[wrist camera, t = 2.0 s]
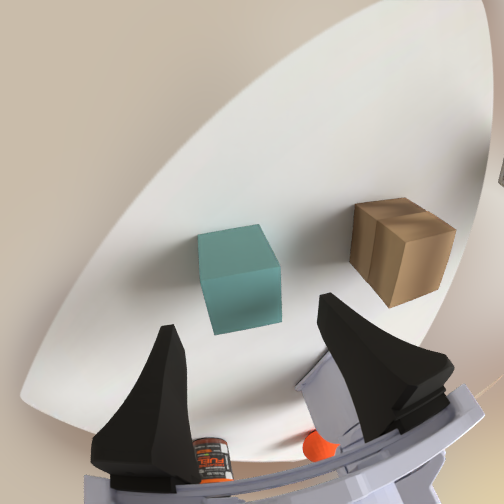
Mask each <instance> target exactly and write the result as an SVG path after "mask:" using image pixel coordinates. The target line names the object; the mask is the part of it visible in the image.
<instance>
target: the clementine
mask: <svg viewBox="0 0 504 504" xmlns="http://www.w3.org/2000/svg"><path fill="white" fill-rule="evenodd" d="M339 445H340V444H333V443H330V442H328V441H326V440H325V439H323V438H322V437H321V436H320V434H319V433H318V432H317V431H314V432H312V433H311V434H309V435H308V436H307V438H306V439H305V441H304V443H303V453H304V455H305V456H306V457H307V458H308V459H309V460H310V461H312V462H317V461H320V460H323V459H326V458H329V457H332V456H334V455H335V452H336V448H337V447H338V446H339Z"/></svg>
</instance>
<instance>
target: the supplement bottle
mask: <svg viewBox="0 0 504 504" xmlns="http://www.w3.org/2000/svg"><path fill="white" fill-rule="evenodd" d="M193 448H194V453H195V457H196V462H197V465H198V469H199V473H200V477H201V480H202V481H201V483H200V484H207V483H218V482H226V481H234V478H233V473H232V468H231V462H230V456H229V450H228V446H227V442H226V441H224V440H222V439H218V438H204V439H199V440H196V441H194V442H193ZM226 497H231V495H230V496H221V497H210V498H226Z"/></svg>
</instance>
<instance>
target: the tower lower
mask: <svg viewBox="0 0 504 504" xmlns="http://www.w3.org/2000/svg"><path fill="white" fill-rule="evenodd" d="M422 212H428V211H426V210H425V209H423V208H421V207H420V206H418V205H417V204H415V203H413V202H412V201H410V200H408V199H407V198H398V199H389V200H381V201H373V202H365V203H357V204H355V209H354V222H353V233H352V243H351V252H350V261H349V262H350V263H351V264H352V266H353V267H354V268H355V269H356V270H357V271H358V273H359V274H360V275H361V276H362V277H363V279H364V280H365V281H366V282H367V283H368V277H369V272H370V266H371V260H372V254H373V248H374V241H375V234H376V226H377V220H380V219H386V218H392V217H397V216H403V215H410V214H416V213H422Z"/></svg>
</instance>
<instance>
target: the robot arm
mask: <svg viewBox="0 0 504 504" xmlns="http://www.w3.org/2000/svg"><path fill="white" fill-rule="evenodd" d="M317 325H318V328H319V330H320V333H321V336H322V338H323V340H324V342H325V344H326V346H327V348H328V350H329V351H328V352H327V353H326V354H325V356H324V357H323V358H322V359H321V360H320V361H319V362H318V363H317V364H316V366H315V367H314V368H313V369H312V370H311V371H310V372H309V373H308V374H307V375H306V376H305V377H304V378H303V379H302V380H301V381H300V382H299V383H298V384H297V385H296V387H295V390H296V391H302V394H303V396H304V399H305V402H306V404H307V407H308V410H309V412H310V415H311V418H312V420H313V423H314V426H315V428H316V430H317V432H318V433H319V434H320V436H321V437H322V438H323V439H325V440H326V441H328V442H330V443H333V444H340V445H339V446H338V447H337V448H336V452H335V455H334V456H332V457H329V458H326V459H323V460H320V461H317V462H314V463H311V464H308V465H304V466H301V467H297V468H293V469H290V470H286V471H282V472H277V473H273V474H269V475H263V476H258V477H253V478H247V479H241V480H234V481H226V482H218V483H207V484H200V483H201V481H202V480H201V477H200V473H199V469H198V465H197V462H196V457H195V453H194V448H193V443H192V438H191V432H190V426H189V419H188V410H187V366H186V357H185V350H184V348H183V345H182V343H181V341H180V338H179V336H178V333H177V331H176V329H175V326H174V324H172V325H165V326H161V328H160V330H159V333H158V336H157V338H156V341H155V343H154V346H153V348H152V351H151V353H150V355H149V358H148V360H147V362H146V364H145V366H144V368H143V370H142V372H141V374H140V376H139V378H138V380H137V382H136V384H135V385H134V387H133V389H132V390H131V392H130V394H129V395H128V397H127V398H126V400H125V401H124V403H123V404H122V405H121V407H120V408H119V409H118V411H117V412H116V413H115V414H114V416H113V417H112V418H111V419H110V420H109V422H108V423H107V424H106V425H105V426H104V427H103V428H102V429H101V430H100V431H99V432H98V433H97V434H96V435H95V436H94V437H93V440H92V446H91V463H92V464H93V465H94V466H95V467H97V468H98V469H100V470H103V471H104V472H107V473H109V474H110V479H107V478H102V477H95V476H89V475H84V504H441V502H440V500H439V498H438V496H437V494H436V492H435V490H434V488H433V486H432V483H433V481H434V479H435V478H436V476H437V474H438V473H439V471H440V469H441V467H442V466H443V464H444V462H445V460H446V458H445V454H446V452H445V449H446V448H447V447H449V446H450V445H451V444H452V443H454V442H455V441H456V440H458V439H459V438H460V437H461V436H462V435H464V434H465V433H466V432H467V431H468V430H470V429H471V428H472V427H473V426H474V425H475V424H477V423H478V422H479V421H480V420H481V419H482V418H483V417H484V416H485V414H484V412H483V410H482V409H481V407H480V406H479V404H478V403H477V401H476V399H475V398H474V396H473V395H472V393H471V392H470V390H469V389H468V387H467V386H466V384H465V383H463V384H462V385H460V386H459V387H458V388H456V389H455V390H454V391H452V392H451V393H450V394H449V395H447V396H446V395H445V394H444V392H445V391H446V389H445V387H444V386H443V385H444V383H445V382H446V381H447V380H448V378H449V377H450V376H451V374H452V373H453V371H454V365H453V364H452V363H451V361H450V360H449V359H448V357H447V356H446V355H445V354H441V353H438V352H434V351H430V350H426V349H423V348H420V347H417V346H415V345H412V344H410V343H407V342H405V341H403V340H401V339H398V338H396V337H394V336H392V335H391V334H389V333H387V332H385V331H383V330H382V329H380V328H378V327H377V326H375V325H374V324H372V323H371V322H369V321H368V320H366V319H365V318H363V317H362V316H361V315H359V314H358V313H356V312H355V311H354V310H353V309H351V308H350V307H349V306H347V305H346V304H345V303H344V302H342V301H341V300H340V299H339V298H337V297H336V296H335V295H333V294H332V293H327V294H322V295H320V297H319V308H318V317H317ZM335 470H336V471H337V473H338V476H339V478H336V479H333V480H330V481H327V482H324V483H321V484H318V485H315V486H311V487H308V488H305V489H301V490H297V491H294V492H290V493H286V494H282V495H279V496H274V497H270V498H265V499H260V500H256V501H251V502H245V501H244V500H241V499H238V498H237V497H226V498H210V497H221V496H230V495H238V494H245V493H251V492H256V491H261V490H267V489H272V488H276V487H281V486H285V485H289V484H293V483H297V482H300V481H304V480H307V479H311V478H314V477H317V476H320V475H323V474H326V473H329V472H332V471H335Z"/></svg>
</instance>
